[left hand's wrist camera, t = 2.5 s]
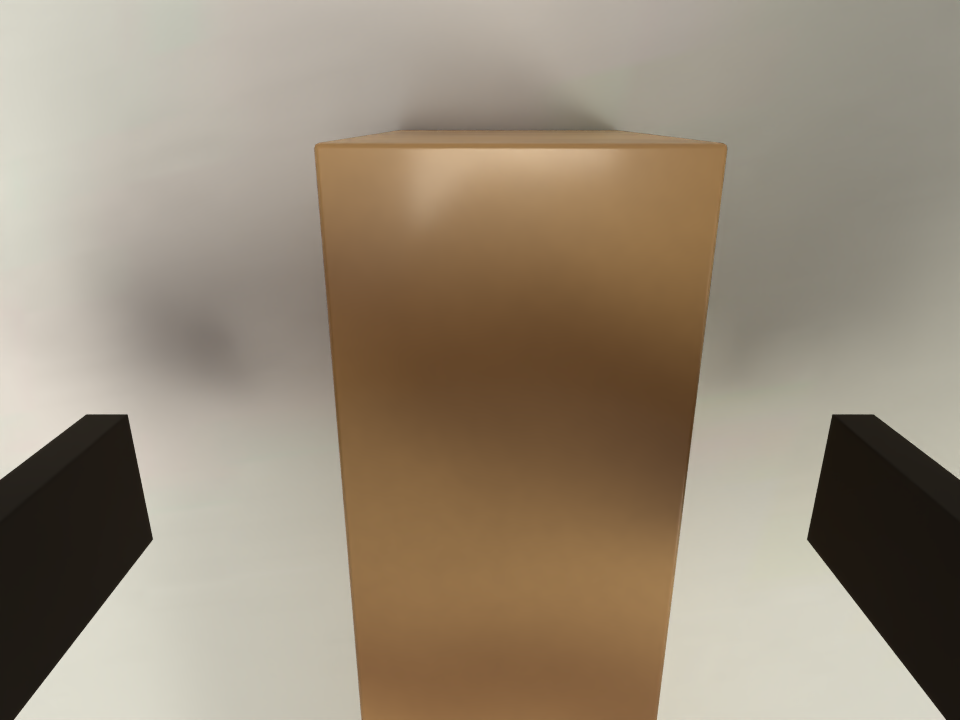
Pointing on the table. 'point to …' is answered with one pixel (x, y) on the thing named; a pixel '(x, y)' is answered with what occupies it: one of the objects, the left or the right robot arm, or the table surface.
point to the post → (515, 410)
